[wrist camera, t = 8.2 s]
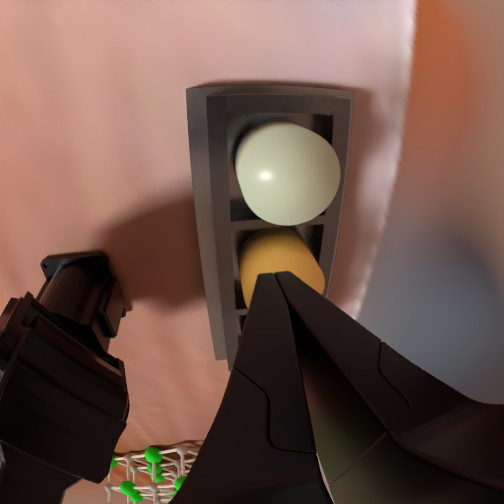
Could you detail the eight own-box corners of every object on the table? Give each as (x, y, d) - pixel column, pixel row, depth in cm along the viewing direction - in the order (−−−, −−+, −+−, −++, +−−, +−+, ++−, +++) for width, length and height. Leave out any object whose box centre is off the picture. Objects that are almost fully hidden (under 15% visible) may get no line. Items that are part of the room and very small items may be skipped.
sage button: (234, 201, 18) (241, 228, 15) (232, 119, 15) (239, 129, 12) (313, 196, 18) (334, 222, 15) (318, 120, 16) (344, 130, 13)
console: (214, 348, 28) (217, 375, 25) (187, 88, 15) (183, 89, 12) (312, 335, 29) (321, 360, 26) (343, 90, 16) (367, 93, 14)
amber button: (238, 289, 21) (245, 325, 18) (236, 230, 19) (242, 261, 16) (304, 282, 22) (318, 315, 19) (310, 224, 19) (330, 253, 16)
